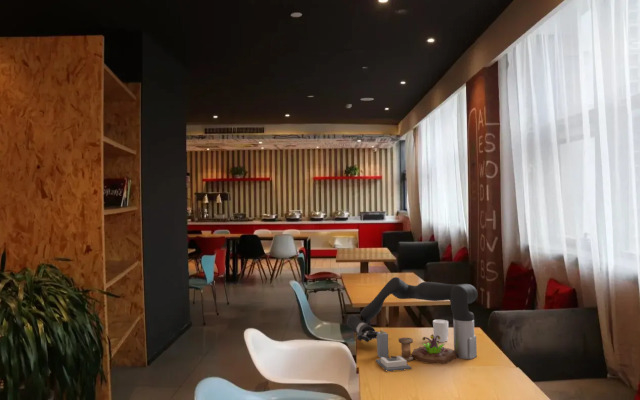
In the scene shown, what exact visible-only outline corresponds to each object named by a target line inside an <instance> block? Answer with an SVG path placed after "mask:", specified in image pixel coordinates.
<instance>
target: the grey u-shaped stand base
mask: <svg viewBox="0 0 640 400" xmlns="http://www.w3.org/2000/svg"><path fill="white" fill-rule="evenodd" d="M395 357H396V358H391V357H388V358H384V357H381V358H378V359H375V363H377V364H378V365H379V366H380V367H381V368H382V367H383V368H384V369H383V368H382V369H383V370H384V371H386V370H387V371H391V372H394V371H393V370H401V371H405V370H404V369H411V370H412V366H410V365H409V364H408V361H406V360H405V359H404V358H402V357H401V355H396V356H395ZM387 371H386V372H387Z"/></svg>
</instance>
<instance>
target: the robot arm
mask: <svg viewBox="0 0 640 400" xmlns="http://www.w3.org/2000/svg"><path fill="white" fill-rule="evenodd" d="M390 295H393V297H395V298H396V299H400V300H409V299H410V300H411V299H412V300H414V299H415V300H421V301H429V302H431V301H432V302H440V301H441V302H442V301H450V307H451V308H450V309H451V314H452V316H453V317H452V318H453V319H452V320H453V350H454V352H455V353H456V359H457V358H458V359H464V360H472V359H475V358H476V357H477V356H478V354H477V353H478V352H477V336H476V335H475V314H474V313H473V312H472V311H469V304H472V303H474V302H475V301H476V300H477V298H478V295H479V293H478V290H477V289H476V287H475V286H474V285H472V284H469V283H461V284H459V283H458V284H449V283H443V282H436V281H435V282H434V281H422V282H420V283H418V284H417V285H412V284H408V283H407V282H404V280H402V279H401V278H399V277H396V276H395V277H392V278H391V279H390V280H389V281H388V282H386V284H385V285H384V286H383V288H382V289H381V290H380V291H379V292H378V294H377V295H376V296H375V297H374V299H372V300H371V301H370V302H369V303H368V304H367V305H365V307H364V308H362V310H361V311H360V312H359V313H360V316H361V318H362V319H360V318H359V316H357V315H356V314H351V315H349V316H348V317H347V319H346V325H347V326H348V327H349V328H350V329H351V330H352V331H354V333H356V339H357V340H358V341H364V342H366V343H369V342H370V341H372V340H377V332H378V331H376V330H375V328H374V327H373V326H371V324H369V323H370V321H371V320H373V318H376V316H377V315H378V314H379V313H380V312H381V310H382V307H383V305H384V302H385V300H386V299H387V298H388V297H389V296H390ZM379 332H381V330H380V331H379Z"/></svg>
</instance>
